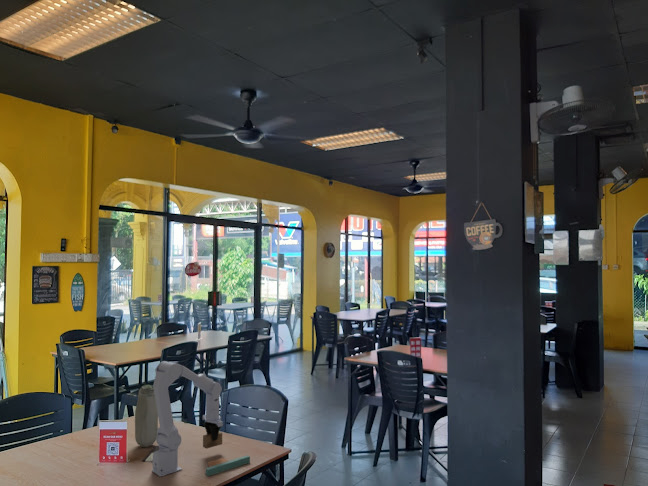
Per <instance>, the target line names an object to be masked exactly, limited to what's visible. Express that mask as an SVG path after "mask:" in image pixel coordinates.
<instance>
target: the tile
mask: <svg viewBox="0 0 648 486" xmlns="http://www.w3.org/2000/svg"><path fill="white" fill-rule="evenodd" d="M227 461H229V459H226V458H224V457H221V458H217V459H215V460H212V461H208V463H207V465H208V467H211V466H215V465H218V464H221V463H224V462H227Z"/></svg>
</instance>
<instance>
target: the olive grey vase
mask: <svg viewBox="0 0 648 486" xmlns="http://www.w3.org/2000/svg"><path fill="white" fill-rule="evenodd" d="M137 395H138V396H137V401H136V402H137V403H136V407H135V412H134V437H135V438H134V439H135V442H136V444H137V445H138V446H139V447H141V448H147V447H151V446H152V445H154V443H155V442H157V441H156V437H157V429H158V428H159V423H158V422H159V418H158V412H157V406H156V400H155V394H154V388H153V385H152V384H145V385H142V386H141V387H140V388H139V389H138V393H137Z"/></svg>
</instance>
